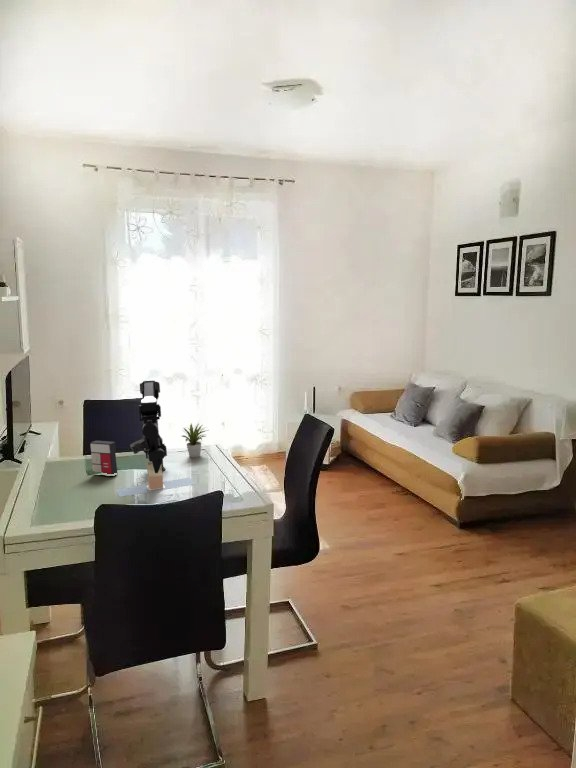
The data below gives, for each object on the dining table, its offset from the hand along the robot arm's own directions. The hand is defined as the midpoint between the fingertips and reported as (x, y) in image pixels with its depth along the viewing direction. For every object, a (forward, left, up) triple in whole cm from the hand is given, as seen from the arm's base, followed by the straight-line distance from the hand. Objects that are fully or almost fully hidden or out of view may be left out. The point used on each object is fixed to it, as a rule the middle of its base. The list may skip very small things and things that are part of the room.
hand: (154, 470), depth 235 cm
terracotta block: (0, 0, -7) cm, 7 cm away
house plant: (-38, +25, -8) cm, 46 cm away
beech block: (0, 0, -2) cm, 2 cm away
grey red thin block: (-30, -17, -8) cm, 35 cm away
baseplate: (0, 0, -8) cm, 8 cm away
